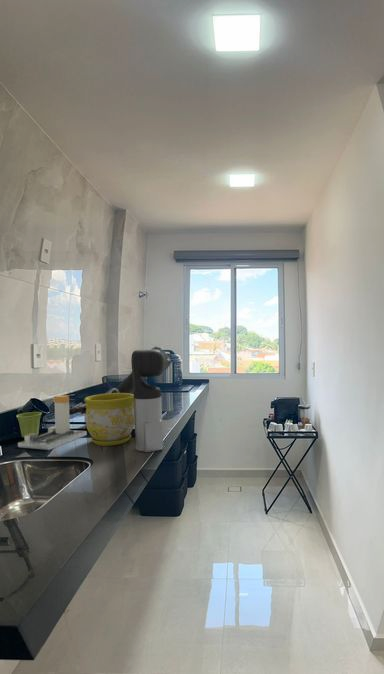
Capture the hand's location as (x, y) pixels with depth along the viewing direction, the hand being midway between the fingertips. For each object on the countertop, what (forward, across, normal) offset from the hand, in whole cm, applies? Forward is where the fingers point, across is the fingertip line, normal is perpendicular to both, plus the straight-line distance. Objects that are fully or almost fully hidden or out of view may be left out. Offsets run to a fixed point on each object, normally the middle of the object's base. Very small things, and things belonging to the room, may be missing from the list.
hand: (68, 412), depth 156 cm
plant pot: (+5, +15, -9) cm, 19 cm away
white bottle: (+4, 0, -7) cm, 8 cm away
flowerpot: (+4, -22, -9) cm, 24 cm away
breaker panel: (+9, 0, -9) cm, 13 cm away
